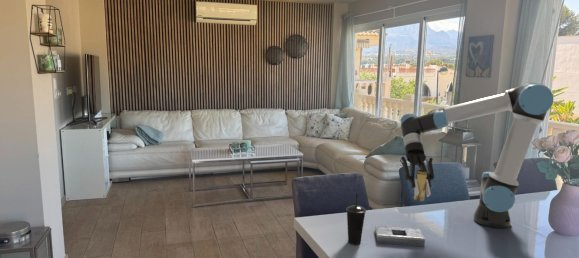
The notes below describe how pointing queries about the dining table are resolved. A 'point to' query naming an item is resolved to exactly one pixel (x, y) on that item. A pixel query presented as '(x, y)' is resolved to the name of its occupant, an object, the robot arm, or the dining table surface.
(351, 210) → the black tumbler with straw
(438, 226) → the dining table surface
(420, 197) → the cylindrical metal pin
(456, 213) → the dining table surface
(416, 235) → the jig
